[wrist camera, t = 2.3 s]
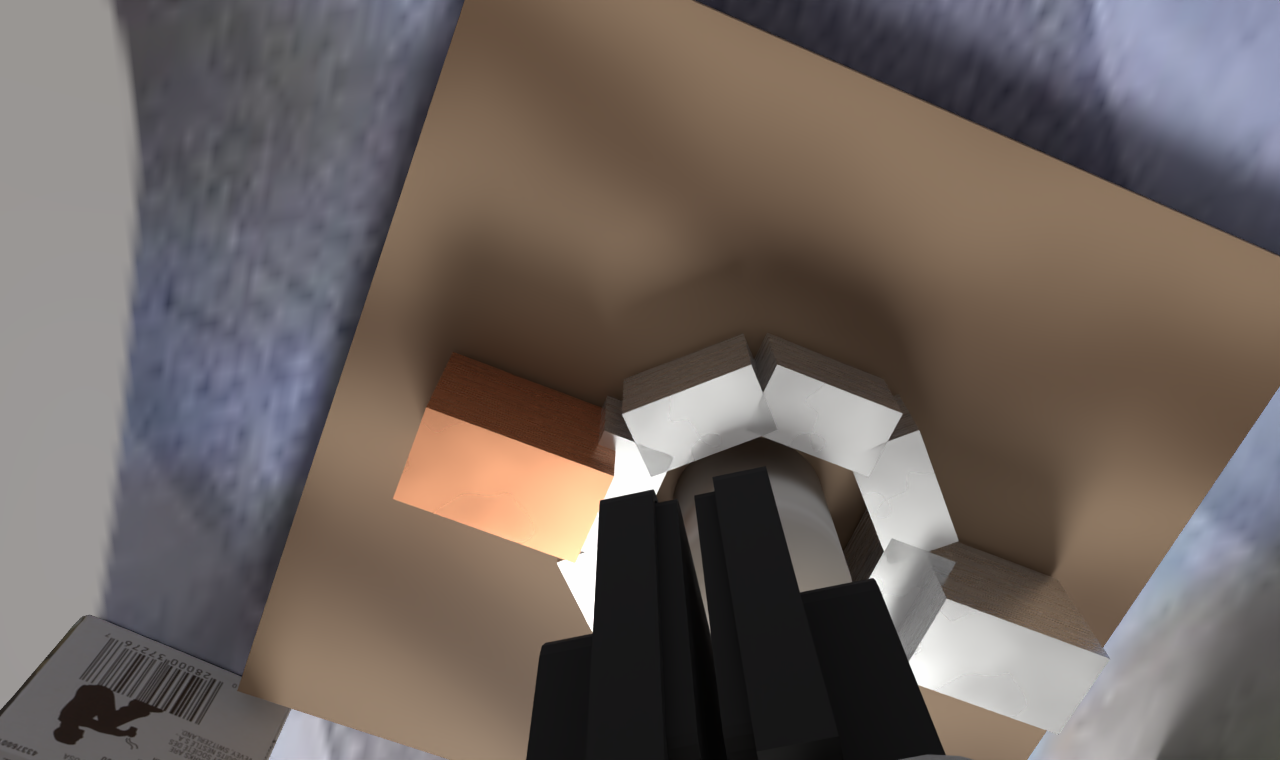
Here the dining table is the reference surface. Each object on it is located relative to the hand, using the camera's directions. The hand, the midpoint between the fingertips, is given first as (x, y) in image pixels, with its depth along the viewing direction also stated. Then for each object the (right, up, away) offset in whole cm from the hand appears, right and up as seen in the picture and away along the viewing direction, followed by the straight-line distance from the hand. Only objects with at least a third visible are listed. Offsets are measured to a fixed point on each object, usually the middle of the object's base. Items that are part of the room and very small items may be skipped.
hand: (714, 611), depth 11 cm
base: (+2, 0, +17) cm, 17 cm away
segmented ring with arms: (+2, -1, +15) cm, 15 cm away
